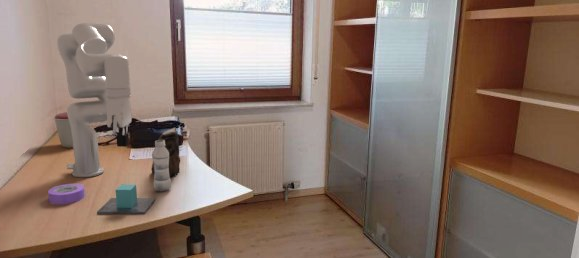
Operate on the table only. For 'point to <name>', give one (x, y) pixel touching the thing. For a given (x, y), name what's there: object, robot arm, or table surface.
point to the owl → (171, 151)
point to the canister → (64, 129)
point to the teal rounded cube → (126, 196)
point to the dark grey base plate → (138, 208)
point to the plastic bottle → (161, 166)
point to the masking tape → (66, 193)
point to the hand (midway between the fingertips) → (122, 145)
